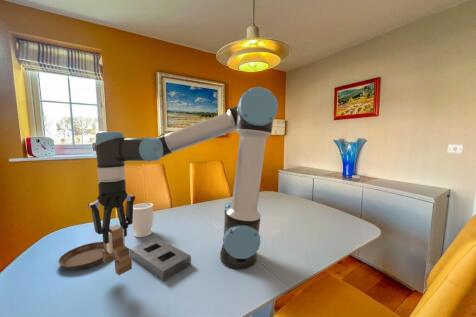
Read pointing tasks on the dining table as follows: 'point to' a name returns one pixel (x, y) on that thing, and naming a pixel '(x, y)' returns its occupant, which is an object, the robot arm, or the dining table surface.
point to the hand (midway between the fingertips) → (116, 248)
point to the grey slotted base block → (160, 258)
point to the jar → (142, 219)
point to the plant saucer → (82, 256)
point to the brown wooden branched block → (118, 251)
